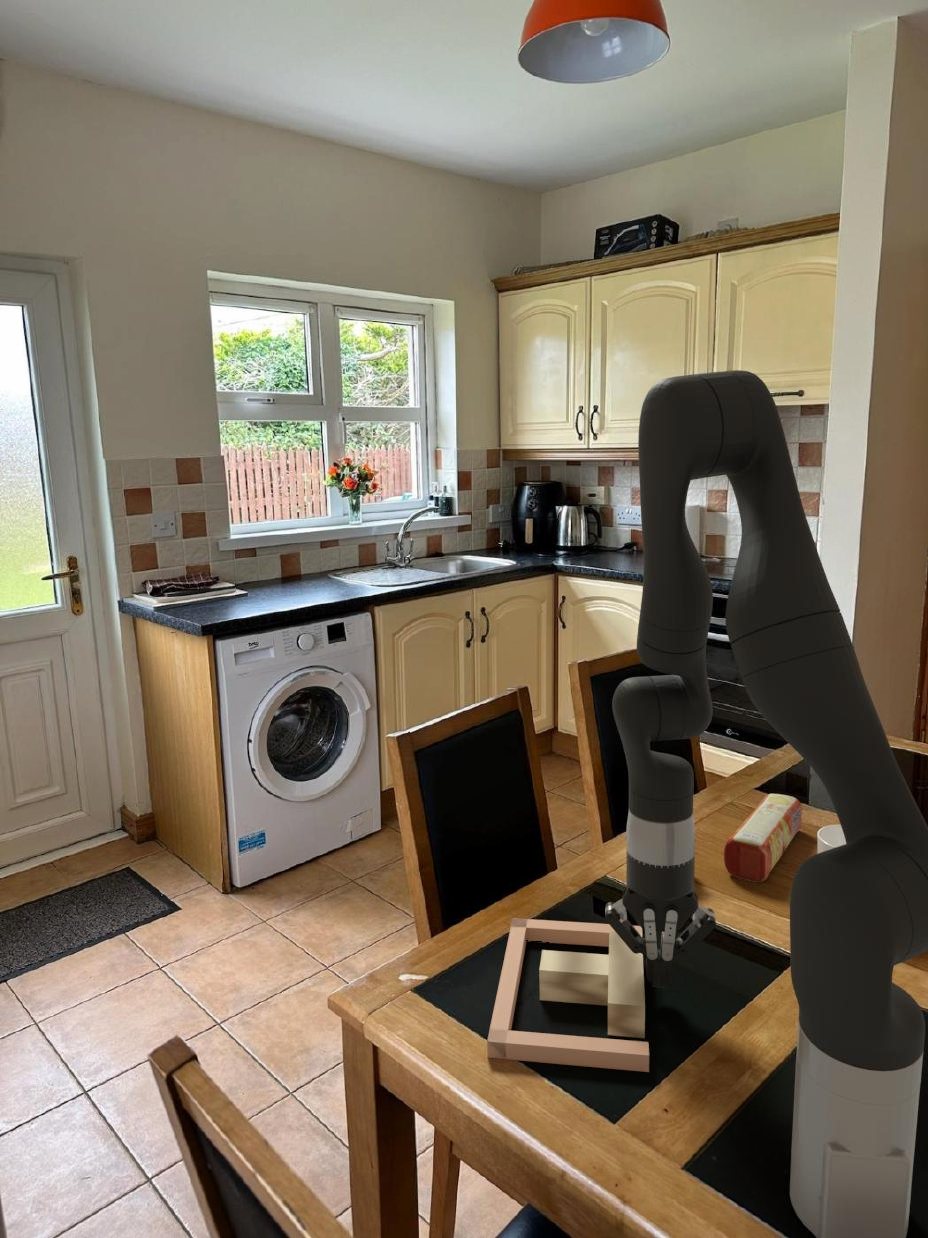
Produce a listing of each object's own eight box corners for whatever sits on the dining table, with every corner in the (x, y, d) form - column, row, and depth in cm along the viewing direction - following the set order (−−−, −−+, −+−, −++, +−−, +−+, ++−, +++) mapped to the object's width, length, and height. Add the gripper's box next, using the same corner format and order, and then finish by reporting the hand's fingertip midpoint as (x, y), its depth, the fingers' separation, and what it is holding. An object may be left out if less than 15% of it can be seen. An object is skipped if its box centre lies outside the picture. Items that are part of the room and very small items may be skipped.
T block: (641, 962, 108) (641, 933, 107) (644, 1038, 94) (645, 1006, 93) (546, 955, 110) (545, 927, 109) (535, 1028, 96) (535, 997, 96)
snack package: (763, 823, 145) (765, 785, 143) (804, 832, 141) (806, 794, 139) (721, 877, 128) (722, 835, 126) (766, 889, 124) (768, 846, 123)
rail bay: (649, 1072, 89) (649, 1055, 89) (487, 1057, 92) (487, 1041, 92) (641, 940, 112) (641, 926, 112) (513, 931, 115) (512, 918, 115)
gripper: (600, 860, 94) (600, 999, 98) (724, 866, 92) (720, 1009, 95) (601, 829, 101) (602, 960, 105) (717, 834, 99) (714, 968, 103)
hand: (658, 983), depth 100 cm, fingers closed
